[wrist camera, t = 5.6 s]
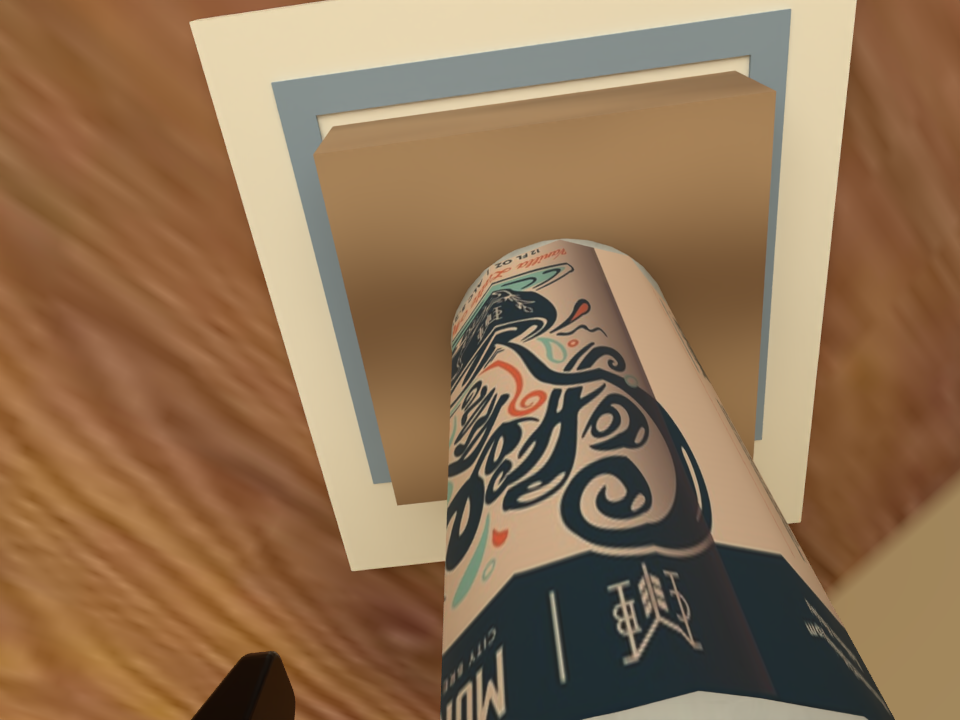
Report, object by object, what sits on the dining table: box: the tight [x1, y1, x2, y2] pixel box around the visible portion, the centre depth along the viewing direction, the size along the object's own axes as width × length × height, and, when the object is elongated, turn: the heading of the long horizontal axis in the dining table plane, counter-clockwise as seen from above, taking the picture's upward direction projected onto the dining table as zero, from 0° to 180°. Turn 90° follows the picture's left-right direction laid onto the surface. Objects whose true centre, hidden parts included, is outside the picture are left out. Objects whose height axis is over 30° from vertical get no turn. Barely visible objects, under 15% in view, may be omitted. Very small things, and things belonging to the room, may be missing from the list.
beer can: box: [440, 239, 895, 720], centre depth 12 cm, size 5×5×12 cm
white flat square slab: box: [189, 0, 857, 571], centre depth 20 cm, size 16×14×1 cm
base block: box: [313, 71, 776, 506], centre depth 18 cm, size 9×9×2 cm
